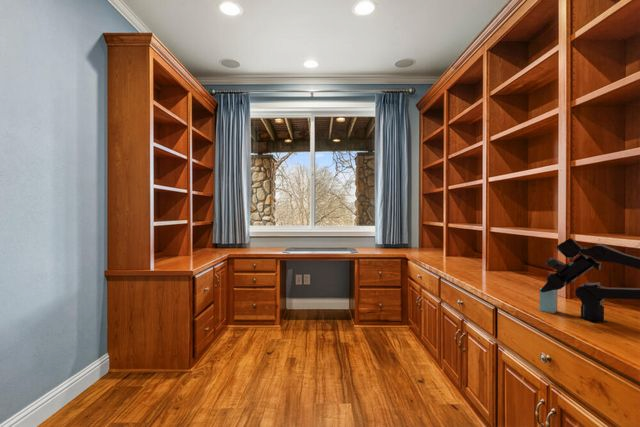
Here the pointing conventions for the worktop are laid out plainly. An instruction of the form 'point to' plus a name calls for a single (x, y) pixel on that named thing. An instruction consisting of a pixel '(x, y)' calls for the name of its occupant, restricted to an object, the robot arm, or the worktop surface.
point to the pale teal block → (548, 301)
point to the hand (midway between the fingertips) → (544, 289)
